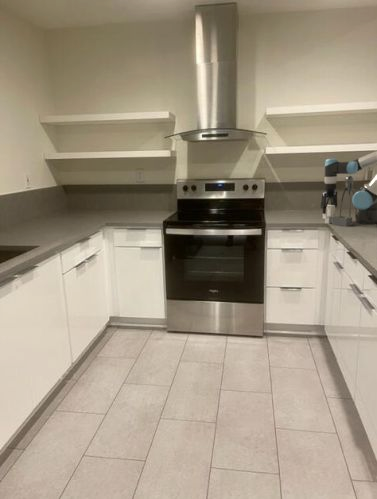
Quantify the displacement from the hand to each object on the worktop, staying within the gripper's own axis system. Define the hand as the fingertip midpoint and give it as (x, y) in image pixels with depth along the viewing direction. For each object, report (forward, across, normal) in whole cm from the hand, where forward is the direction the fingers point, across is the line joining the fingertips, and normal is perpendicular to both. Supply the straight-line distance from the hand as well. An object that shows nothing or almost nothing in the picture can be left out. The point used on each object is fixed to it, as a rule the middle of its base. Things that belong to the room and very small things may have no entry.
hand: (328, 217), depth 253 cm
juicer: (+4, -18, +4) cm, 18 cm away
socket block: (+3, 0, +10) cm, 11 cm away
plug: (+3, 0, 0) cm, 3 cm away
